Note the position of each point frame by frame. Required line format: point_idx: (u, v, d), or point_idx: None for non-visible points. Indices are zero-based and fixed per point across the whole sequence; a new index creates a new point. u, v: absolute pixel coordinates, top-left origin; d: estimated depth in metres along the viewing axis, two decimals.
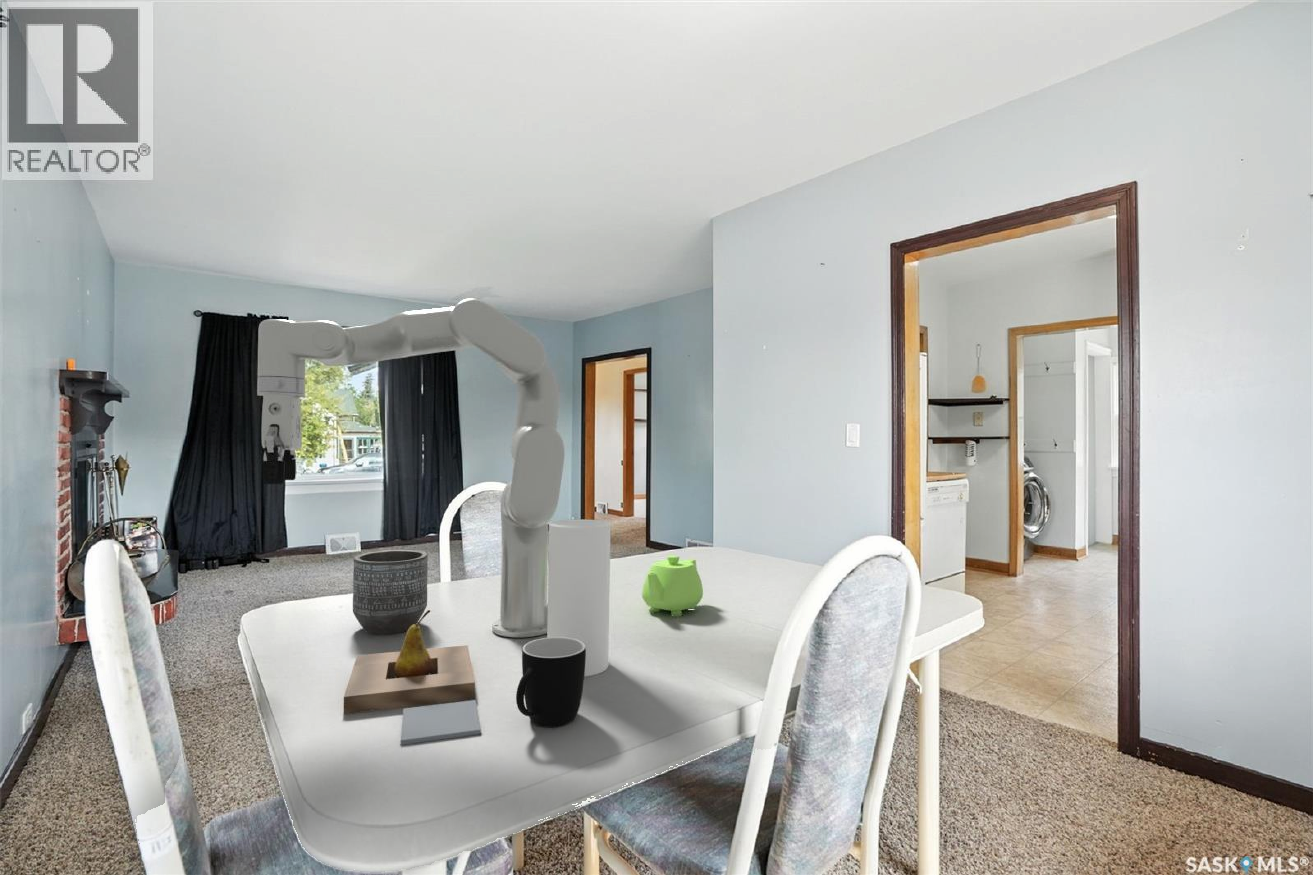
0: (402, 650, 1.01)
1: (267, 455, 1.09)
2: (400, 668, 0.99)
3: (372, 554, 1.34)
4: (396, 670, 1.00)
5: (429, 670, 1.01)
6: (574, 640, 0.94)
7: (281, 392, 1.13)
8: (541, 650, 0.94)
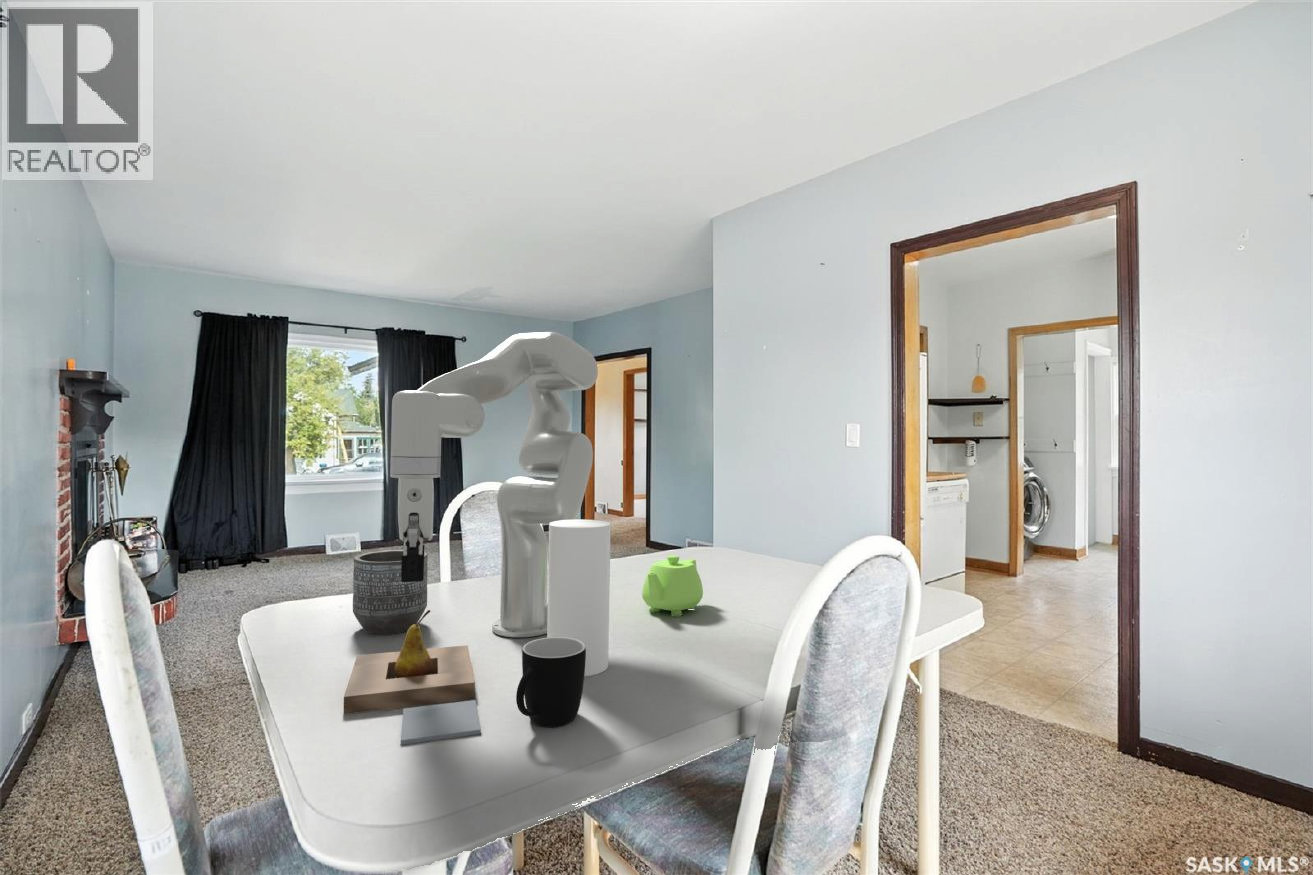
0: (402, 650, 1.01)
1: (408, 550, 0.95)
2: (400, 668, 0.99)
3: (372, 554, 1.34)
4: (396, 670, 1.00)
5: (429, 670, 1.01)
6: (574, 640, 0.94)
7: (420, 475, 0.99)
8: (541, 650, 0.94)
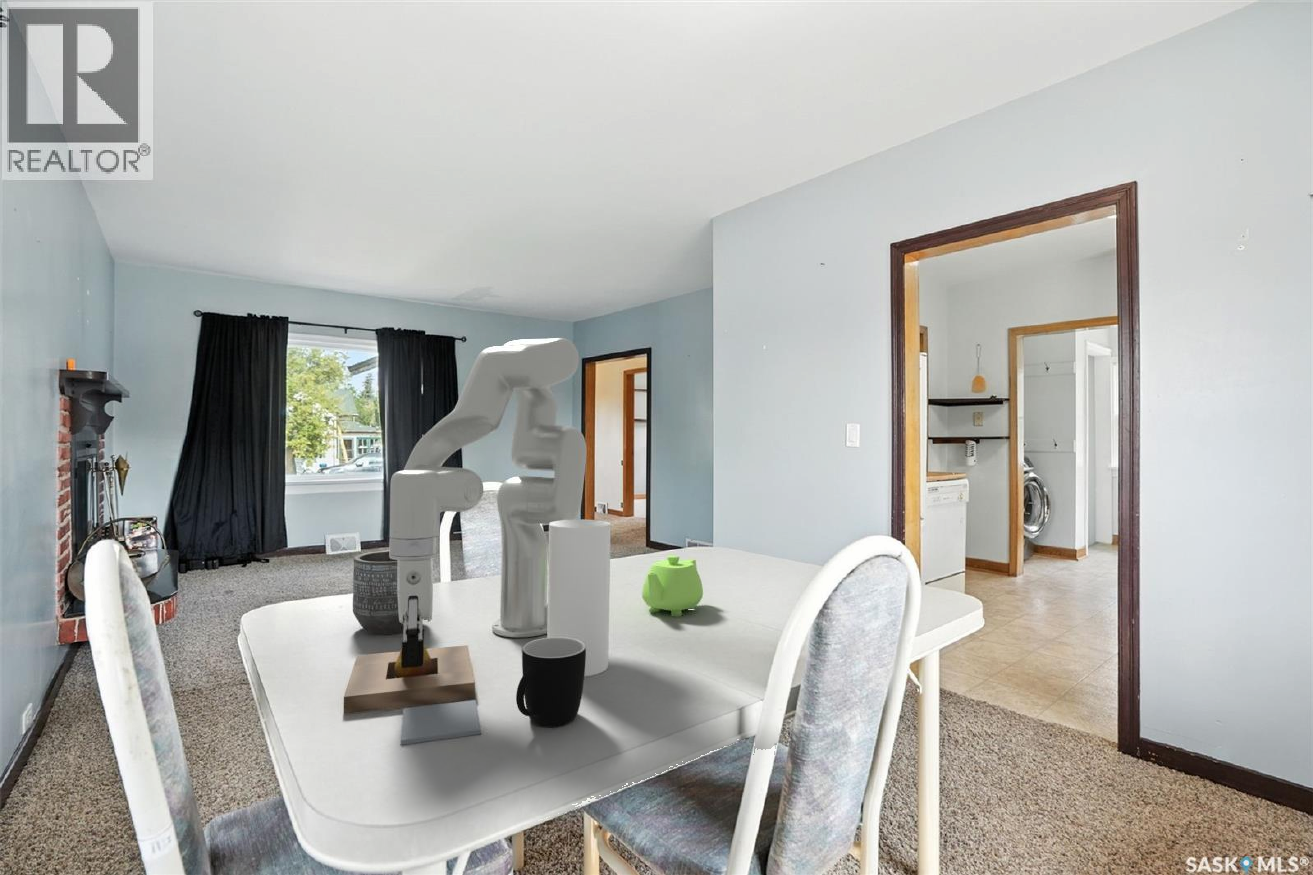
0: None
1: (408, 638, 0.97)
2: (400, 668, 0.99)
3: (372, 554, 1.34)
4: (396, 670, 1.00)
5: (429, 670, 1.01)
6: (574, 640, 0.94)
7: (419, 557, 0.99)
8: (541, 650, 0.94)
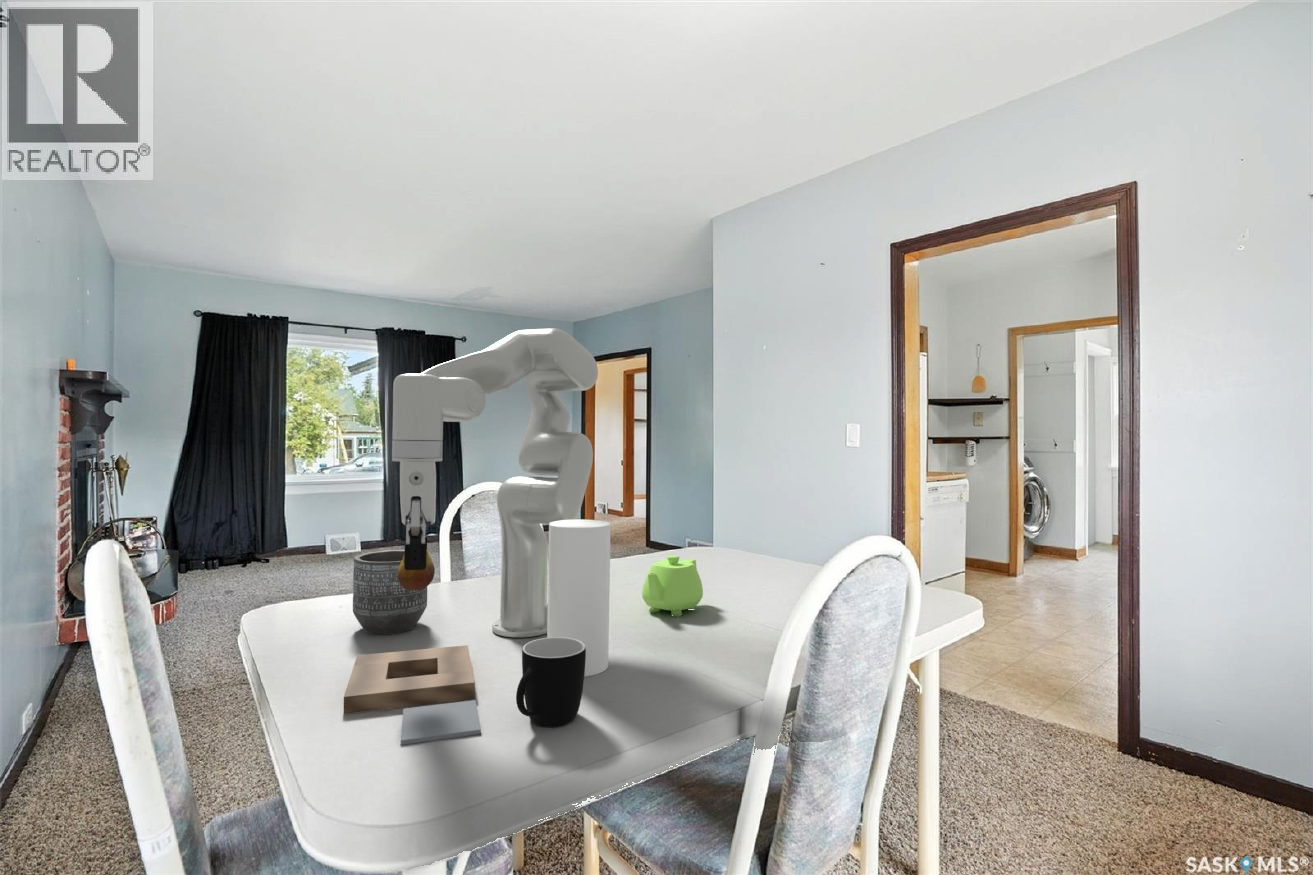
0: None
1: (411, 539, 0.96)
2: (403, 571, 0.99)
3: (372, 554, 1.34)
4: (399, 573, 0.99)
5: (432, 575, 1.01)
6: (574, 640, 0.94)
7: (421, 458, 0.98)
8: (541, 650, 0.94)
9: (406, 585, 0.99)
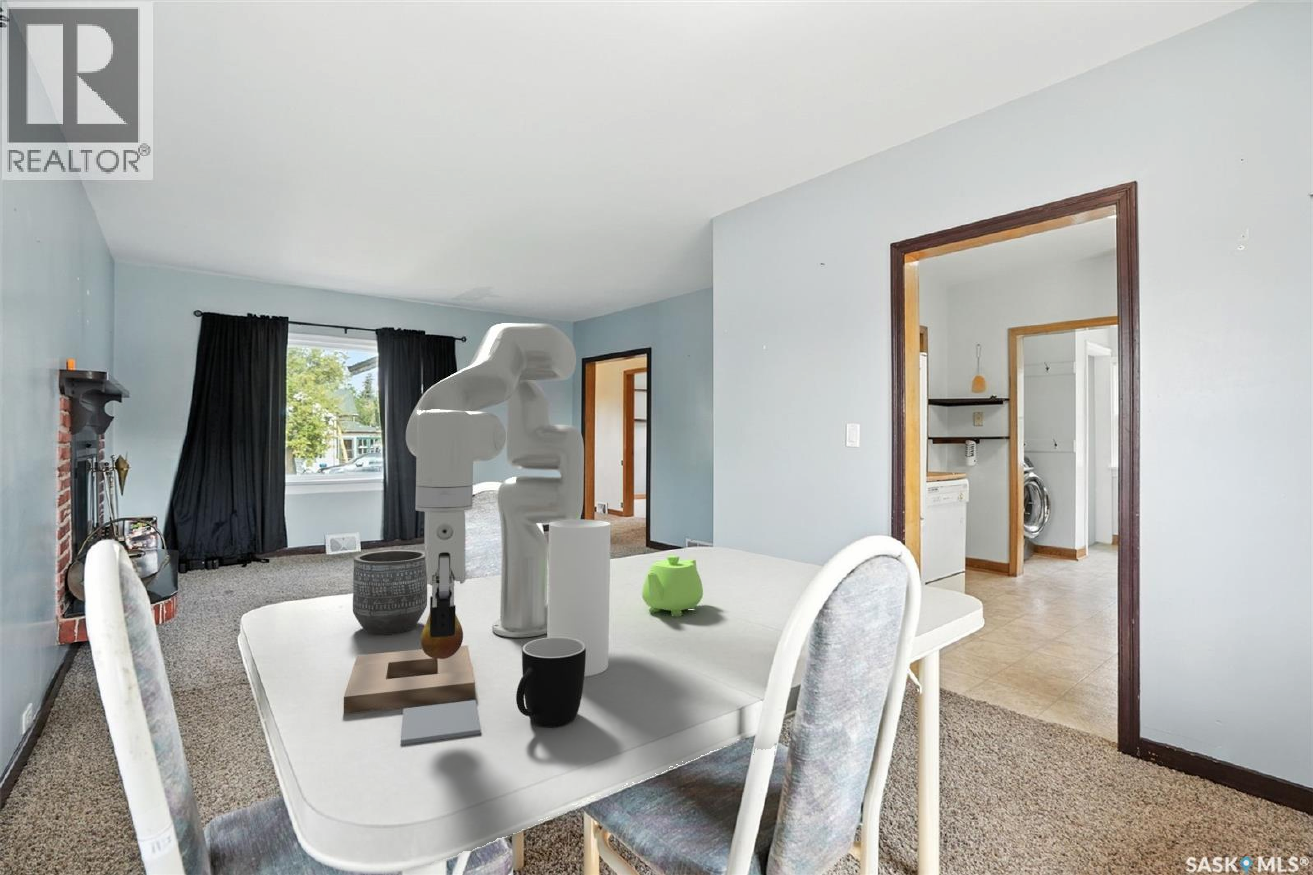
0: (429, 617, 0.87)
1: (438, 602, 0.83)
2: (427, 637, 0.86)
3: (372, 554, 1.34)
4: (423, 640, 0.86)
5: (460, 641, 0.88)
6: (574, 640, 0.94)
7: (450, 508, 0.85)
8: (541, 650, 0.94)
9: (431, 654, 0.86)
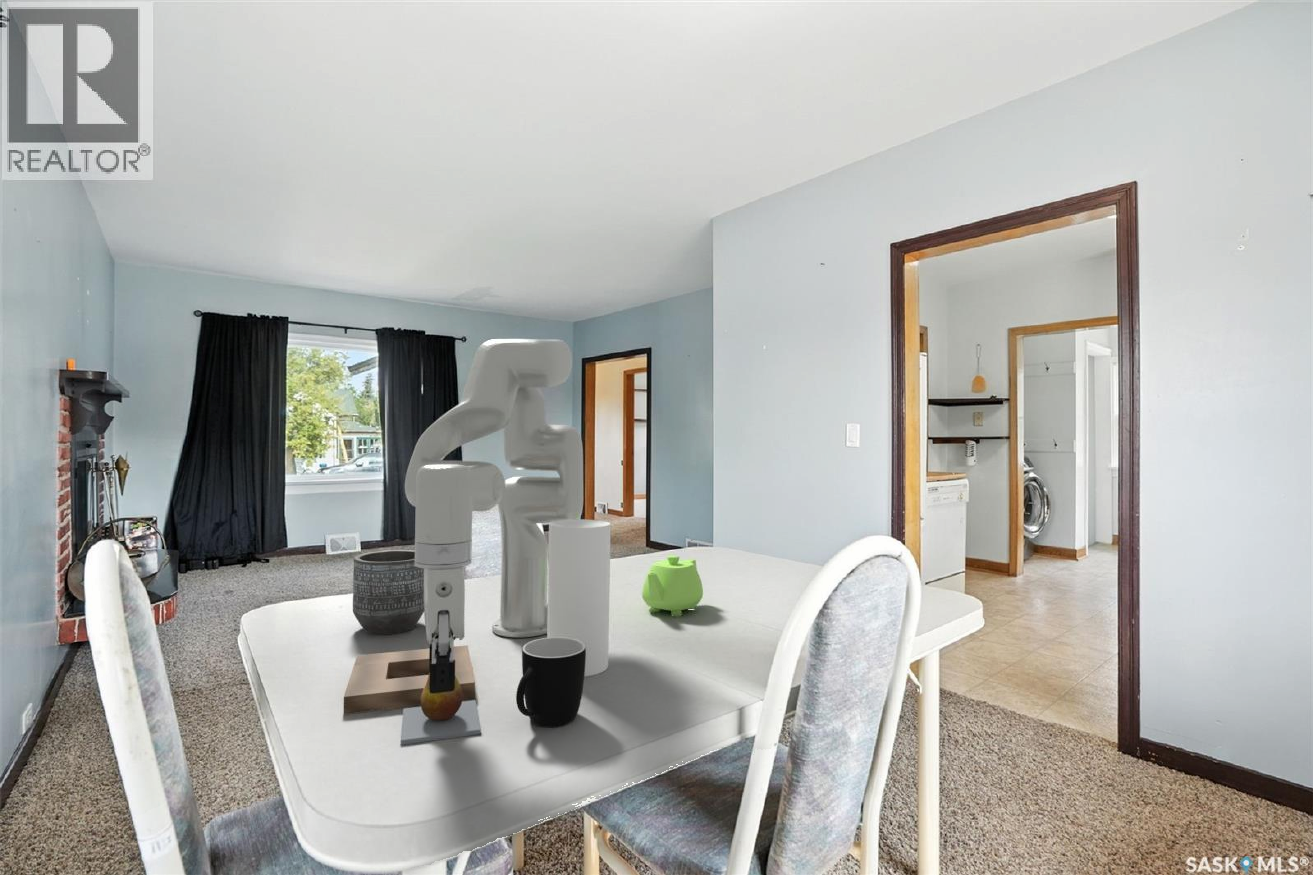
0: (429, 679, 0.87)
1: (438, 659, 0.82)
2: (427, 701, 0.86)
3: (372, 554, 1.34)
4: (423, 703, 0.86)
5: (460, 701, 0.88)
6: (574, 640, 0.94)
7: (449, 565, 0.85)
8: (541, 650, 0.94)
9: (431, 716, 0.86)
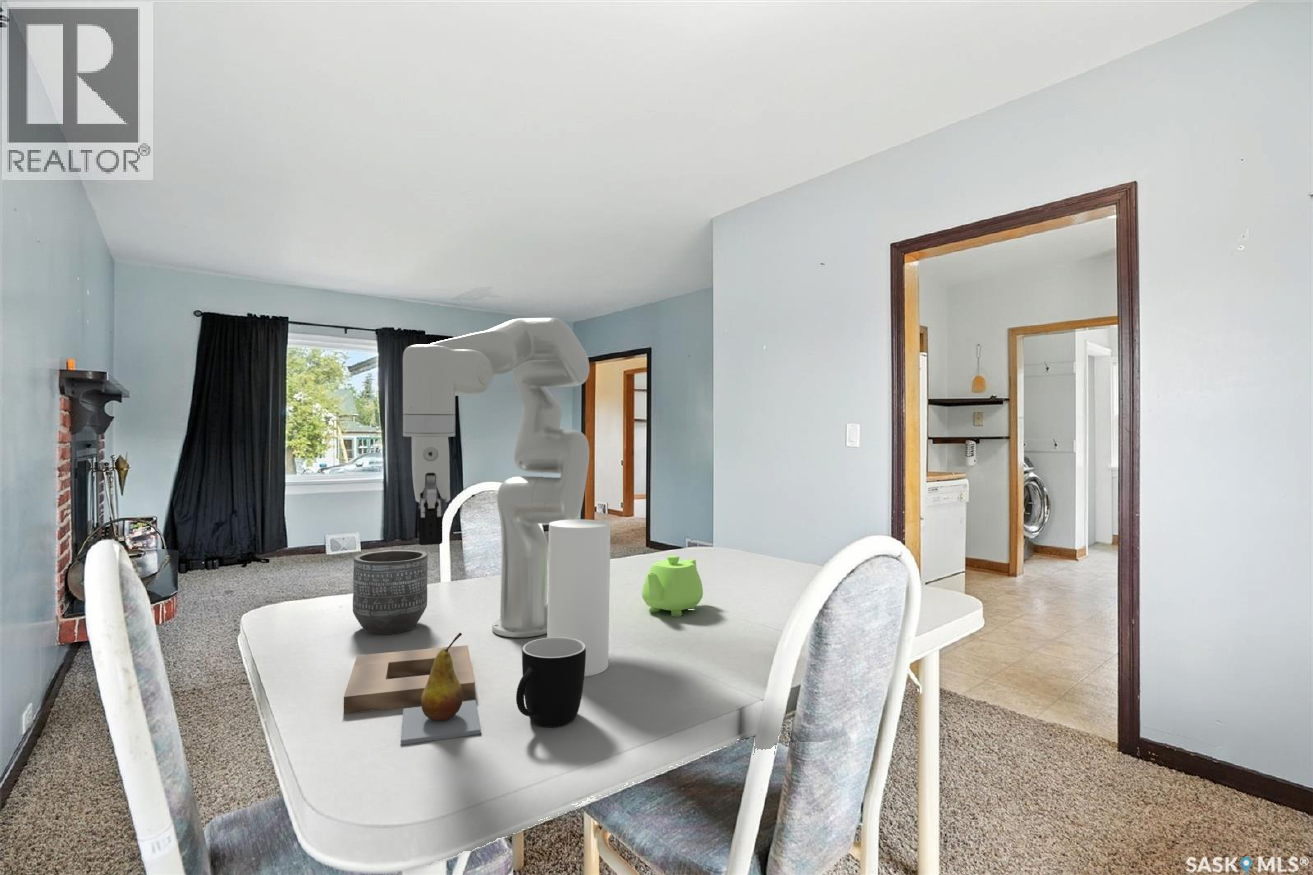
0: (430, 679, 0.87)
1: (426, 512, 0.91)
2: (428, 700, 0.86)
3: (372, 554, 1.34)
4: (423, 703, 0.86)
5: (461, 702, 0.88)
6: (574, 640, 0.94)
7: (435, 433, 0.94)
8: (541, 650, 0.94)
9: (432, 717, 0.86)
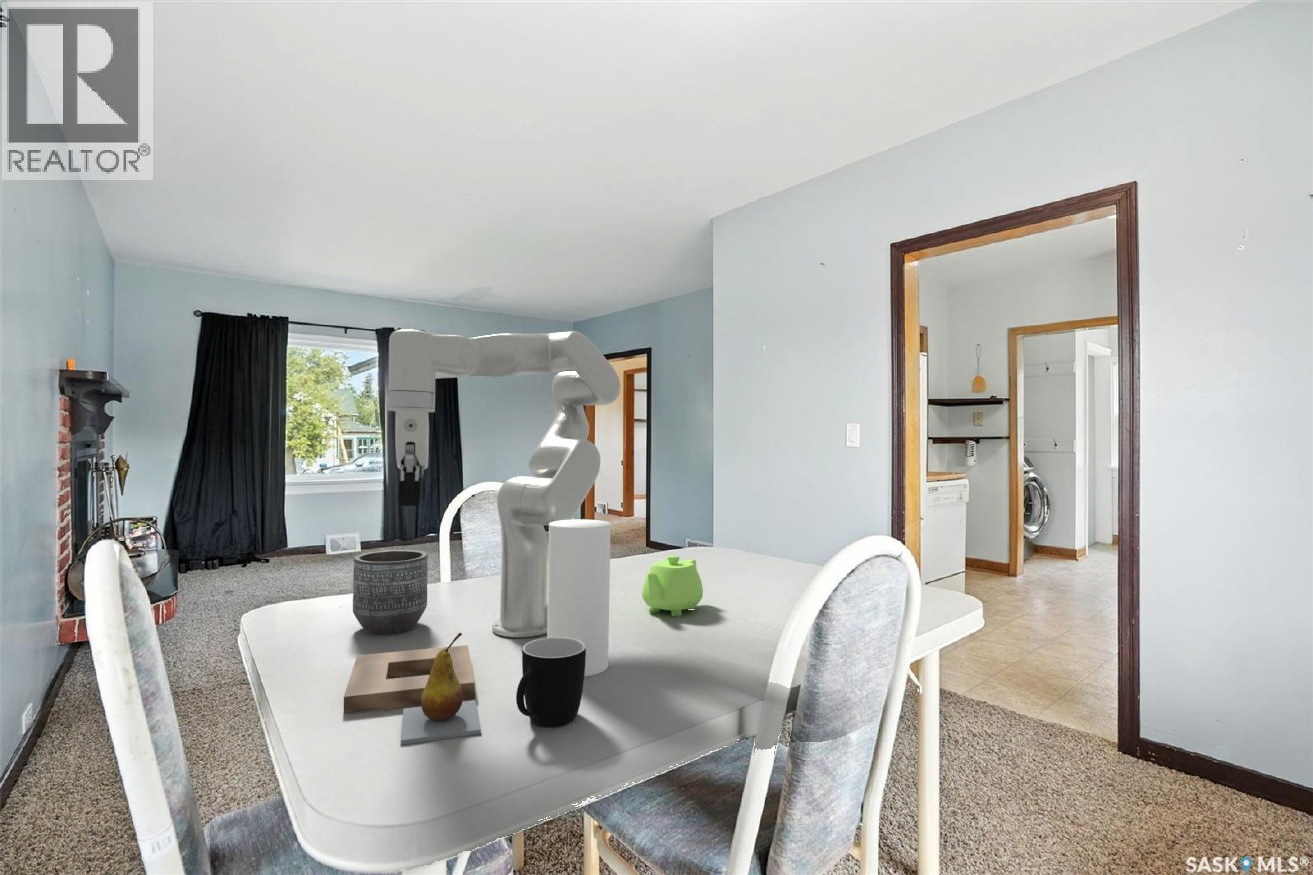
0: (430, 679, 0.87)
1: (405, 475, 1.02)
2: (428, 700, 0.86)
3: (372, 554, 1.34)
4: (423, 703, 0.86)
5: (461, 702, 0.88)
6: (574, 640, 0.94)
7: (415, 407, 1.06)
8: (541, 650, 0.94)
9: (432, 716, 0.86)
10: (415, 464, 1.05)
